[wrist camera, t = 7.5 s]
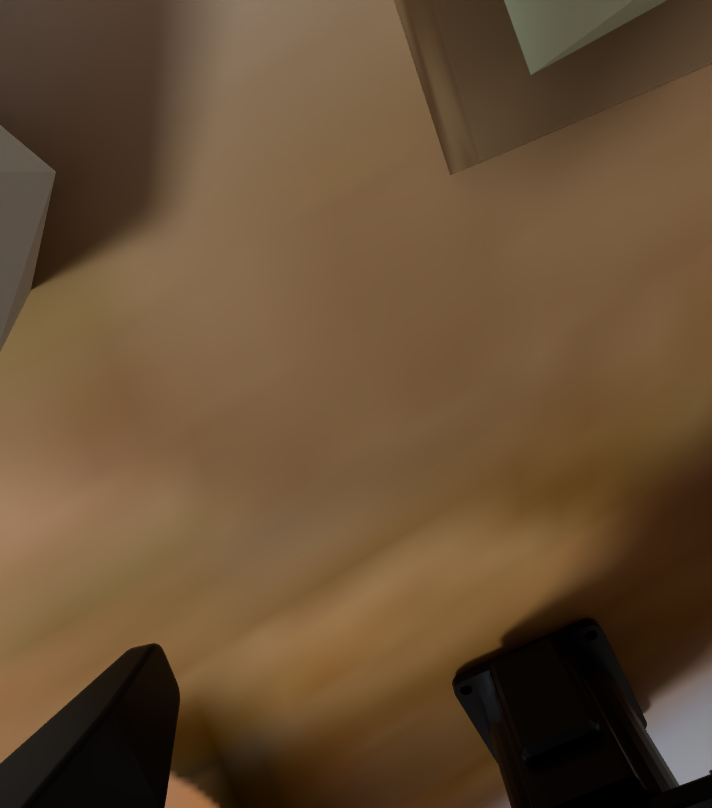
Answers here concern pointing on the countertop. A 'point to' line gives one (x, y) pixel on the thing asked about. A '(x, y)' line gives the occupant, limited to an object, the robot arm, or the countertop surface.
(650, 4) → the sage block
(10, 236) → the die
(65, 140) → the countertop surface
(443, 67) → the walnut base
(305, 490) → the countertop surface
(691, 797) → the robot arm
